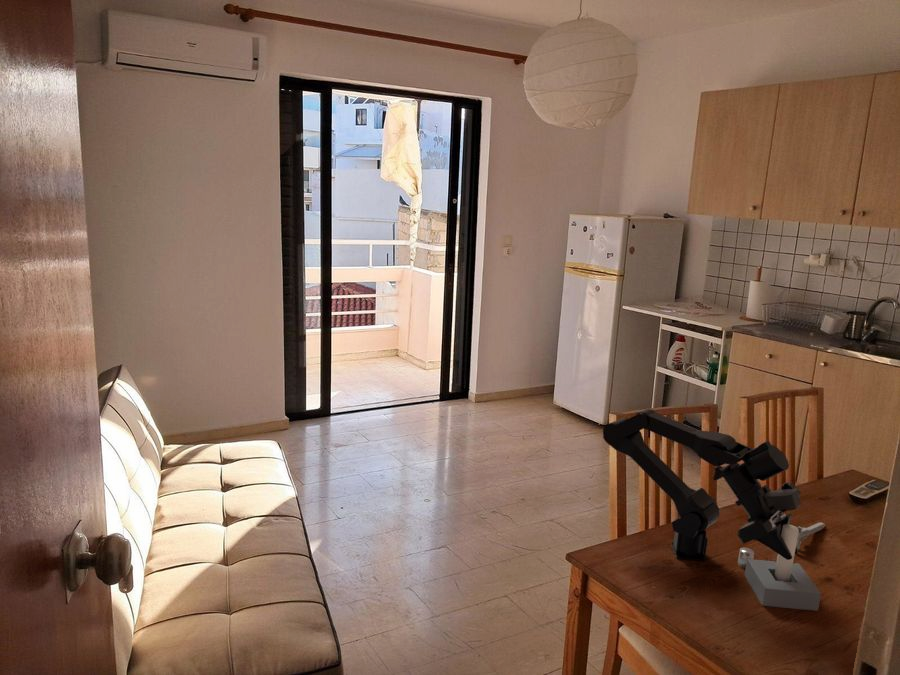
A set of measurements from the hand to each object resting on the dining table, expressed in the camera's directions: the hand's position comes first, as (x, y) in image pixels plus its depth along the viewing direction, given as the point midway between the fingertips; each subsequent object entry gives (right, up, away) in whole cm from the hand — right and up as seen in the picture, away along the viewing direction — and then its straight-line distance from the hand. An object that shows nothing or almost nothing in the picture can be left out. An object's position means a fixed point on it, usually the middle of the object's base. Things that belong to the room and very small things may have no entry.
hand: (793, 556), depth 139 cm
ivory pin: (-1, -6, +2) cm, 7 cm away
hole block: (-1, -9, +3) cm, 9 cm away
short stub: (-4, -6, +13) cm, 15 cm away
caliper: (+17, -5, +26) cm, 32 cm away
